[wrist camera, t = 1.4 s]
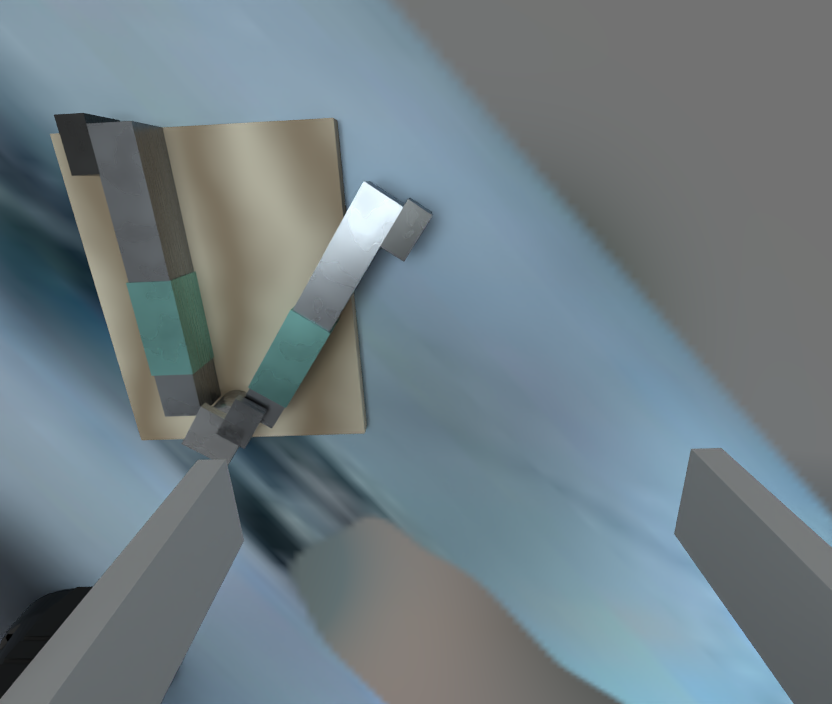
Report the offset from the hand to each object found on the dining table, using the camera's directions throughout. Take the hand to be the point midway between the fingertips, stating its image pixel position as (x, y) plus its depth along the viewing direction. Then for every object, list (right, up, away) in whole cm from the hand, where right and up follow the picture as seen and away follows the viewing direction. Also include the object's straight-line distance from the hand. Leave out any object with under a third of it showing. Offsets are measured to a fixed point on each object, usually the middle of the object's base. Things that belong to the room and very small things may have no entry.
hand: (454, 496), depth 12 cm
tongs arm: (-8, +6, +18) cm, 21 cm away
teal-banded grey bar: (-16, +8, +18) cm, 25 cm away
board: (-14, +8, +19) cm, 25 cm away
